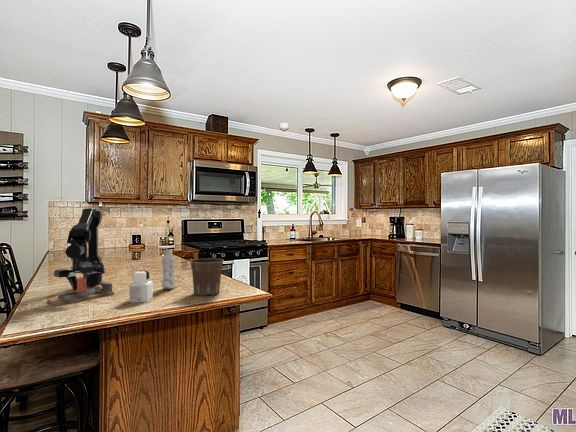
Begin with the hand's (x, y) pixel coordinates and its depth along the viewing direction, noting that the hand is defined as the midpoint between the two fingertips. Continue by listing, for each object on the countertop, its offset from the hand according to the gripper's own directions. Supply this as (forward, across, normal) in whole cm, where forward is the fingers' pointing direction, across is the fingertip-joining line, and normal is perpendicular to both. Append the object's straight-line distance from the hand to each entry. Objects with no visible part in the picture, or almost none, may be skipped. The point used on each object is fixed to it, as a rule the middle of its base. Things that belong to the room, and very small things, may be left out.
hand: (79, 289), depth 152 cm
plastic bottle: (+4, +35, -16) cm, 39 cm away
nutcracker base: (+4, +1, 0) cm, 4 cm away
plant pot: (+4, +41, -38) cm, 56 cm away
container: (+4, +15, -24) cm, 29 cm away
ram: (+3, +2, 0) cm, 3 cm away
